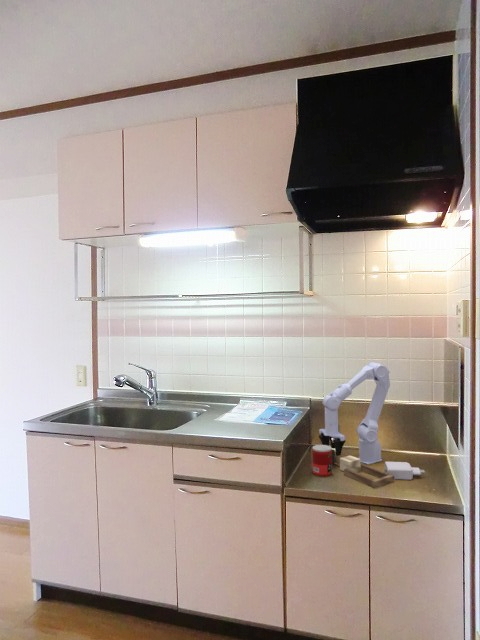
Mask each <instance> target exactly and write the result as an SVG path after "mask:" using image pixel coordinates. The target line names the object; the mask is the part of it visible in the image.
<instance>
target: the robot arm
mask: <svg viewBox="0 0 480 640" xmlns="http://www.w3.org/2000/svg"><path fill="white" fill-rule="evenodd" d="M365 380H374V383H375V384H376V387H375V389H374V390H373V391H374V392H373V395H372V397H371V400H370V403H369V406H368V409H367V412H366V414H365V417H364V418H363V419H361V422H360V424H359V425H358V426H357V427H356V433H357V436H358V437H359V438H358V457H357V458H358V459H360V463H361V464H365V465H371V464H375V463H378V462H382V461H383V459H382V445H381V443H380V441H379V440H378V437H379V433H378V431H379V430H380V428H379V425H378V421H379V418H380V416H381V413H382V410H383V406H384V403H385V401H386V398H387V395H388V392H389V389H390V385H391V381H390V370H389V368H388V367H387V366H386V365H385V364H382V363H378V362H376V361H370V362H368V364H367V365H364V366H363V368H362V369H361V370H360V371H359V372H358V373H356V375H355V376H354V377H352V378H351V379H350V380H349V381H348V382H347V383H342V384H338V385H337V388H336V389H334V390H333V391H331V392H329V394H327V395H325V396H324V397H323V399H322V405H323V406H324V428H320V429H319V430H318V431H319V432H318V433H319V435H318V438H319V440H320V442H321V445H327V446H330V439H331V438H334V439H333V440H332V442H333V444H334V449H335V457H338V456H341V455H342V451H343V447H344V444H345V443H346V442H347V441H346V435H344V434H342V433H340V431H339V412H338V410H339V408H340V404H341V403H342V402H343V401H345V400H346V399H348V397H349V396H351V395H352V393H353V392H352V391H353V389H355V388H356V387H358V386H359V385H360V384H361V383H362V382H365Z"/></svg>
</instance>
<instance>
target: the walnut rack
mask: <svg viewBox="0 0 480 640" xmlns="http://www.w3.org/2000/svg"><path fill="white" fill-rule="evenodd" d="M360 472H364V473H366V474H368V475H371V476H373V477H376V478H375V479H374V478H372V477H369V476H367V475H365V474H362V473H359V472H355V471H352V470H350V469H347V468H346V469H344V471H343V476H345V477H347V478H349V479H352V480H355V481H358V482H359V483H362V484H364V485H367V486H369V487H371V488H373V489H378V488H381V487H383V486H386V485H389V484H393V483H395V479H394V475H391V474H388V473H387V472H385V471H383V470H380V469H378V468H376V467H372V466H370V465H368V464H365V463H361V471H360Z"/></svg>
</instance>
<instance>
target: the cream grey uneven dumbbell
mask: <svg viewBox="0 0 480 640" xmlns="http://www.w3.org/2000/svg"><path fill="white" fill-rule="evenodd" d="M358 458H359V457H356V456H353V455H347V456H343V457H339V463H337V462H336V452H335V450H334V449H332V465H335V466H338V467H339V470H340V471H342V472H344V469H346V468H347V469H350V470H352V471H355V472H357V473H359V472H362V471H361V464H362V462H360V459H358Z"/></svg>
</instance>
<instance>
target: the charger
mask: <svg viewBox="0 0 480 640" xmlns="http://www.w3.org/2000/svg"><path fill="white" fill-rule="evenodd" d="M384 472H386V473H388V474H391V475H394V480H403V481H404V480H406V481H411V480H413V478H414V477H413V476H421V474H422V473H424V474H425V473H426V471H425V469H420V468H419V467H414V466H413V467H412V466H411V463H409V462H407V461H405V462H404V461H384Z"/></svg>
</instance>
